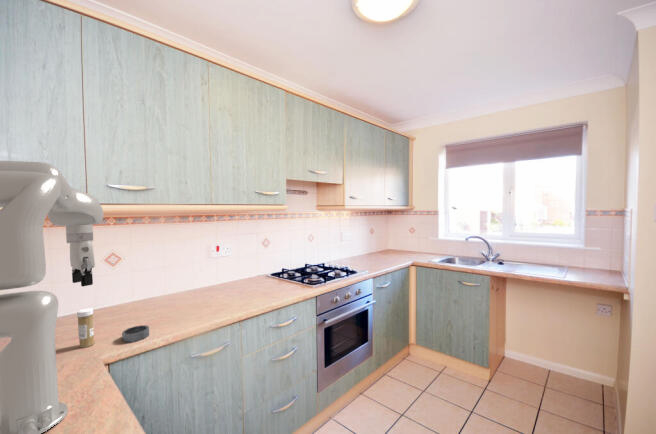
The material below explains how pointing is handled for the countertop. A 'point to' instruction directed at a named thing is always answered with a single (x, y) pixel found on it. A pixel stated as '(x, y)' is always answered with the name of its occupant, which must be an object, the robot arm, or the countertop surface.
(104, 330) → the countertop surface
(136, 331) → the socket collar
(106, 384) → the countertop surface
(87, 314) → the sprinkles bottle
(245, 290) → the countertop surface
